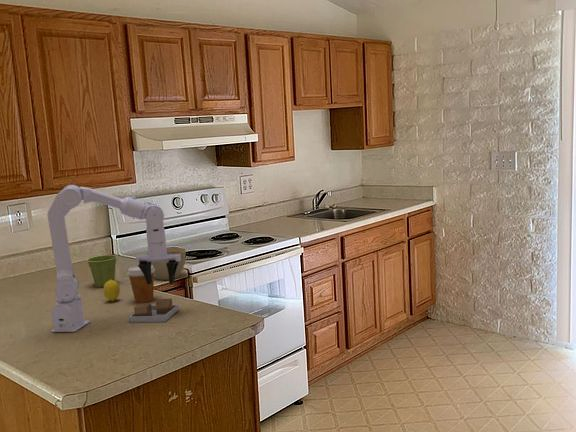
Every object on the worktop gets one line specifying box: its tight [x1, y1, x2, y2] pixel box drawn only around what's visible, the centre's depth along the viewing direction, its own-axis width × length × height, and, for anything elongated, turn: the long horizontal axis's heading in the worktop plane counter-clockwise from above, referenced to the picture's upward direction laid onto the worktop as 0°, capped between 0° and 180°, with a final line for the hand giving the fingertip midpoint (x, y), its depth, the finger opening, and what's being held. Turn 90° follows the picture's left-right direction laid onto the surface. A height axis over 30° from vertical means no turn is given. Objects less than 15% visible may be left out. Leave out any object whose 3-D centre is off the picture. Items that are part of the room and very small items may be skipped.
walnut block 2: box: [155, 297, 174, 314], centre depth 185 cm, size 4×4×4 cm
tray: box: [127, 304, 180, 324], centre depth 184 cm, size 12×12×2 cm
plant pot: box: [85, 254, 118, 288], centre depth 230 cm, size 12×12×11 cm
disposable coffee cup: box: [126, 265, 155, 304], centre depth 202 cm, size 10×10×12 cm
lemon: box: [103, 280, 121, 302], centre depth 205 cm, size 6×6×8 cm
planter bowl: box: [145, 247, 187, 281], centre depth 235 cm, size 16×16×11 cm
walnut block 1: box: [133, 302, 152, 316], centre depth 181 cm, size 4×4×4 cm
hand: (160, 283), depth 186 cm, fingers open, 7 cm apart
